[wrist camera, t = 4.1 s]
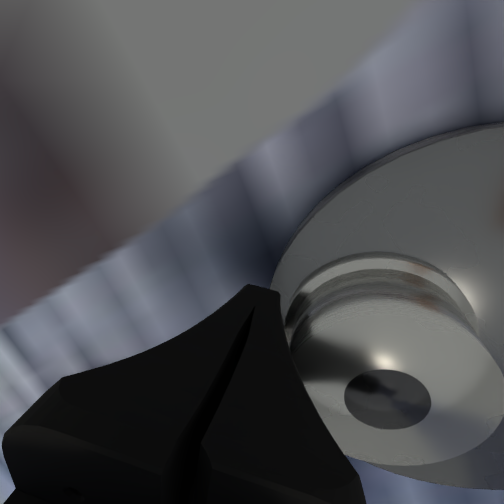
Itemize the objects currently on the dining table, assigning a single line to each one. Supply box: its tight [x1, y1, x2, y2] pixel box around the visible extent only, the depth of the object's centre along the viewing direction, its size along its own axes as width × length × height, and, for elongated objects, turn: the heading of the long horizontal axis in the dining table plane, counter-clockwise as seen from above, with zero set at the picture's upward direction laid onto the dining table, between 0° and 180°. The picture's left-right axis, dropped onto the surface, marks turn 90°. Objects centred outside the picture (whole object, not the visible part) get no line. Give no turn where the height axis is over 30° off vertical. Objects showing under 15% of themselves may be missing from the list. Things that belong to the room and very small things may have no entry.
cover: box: [284, 252, 504, 466], centre depth 10 cm, size 6×6×3 cm
